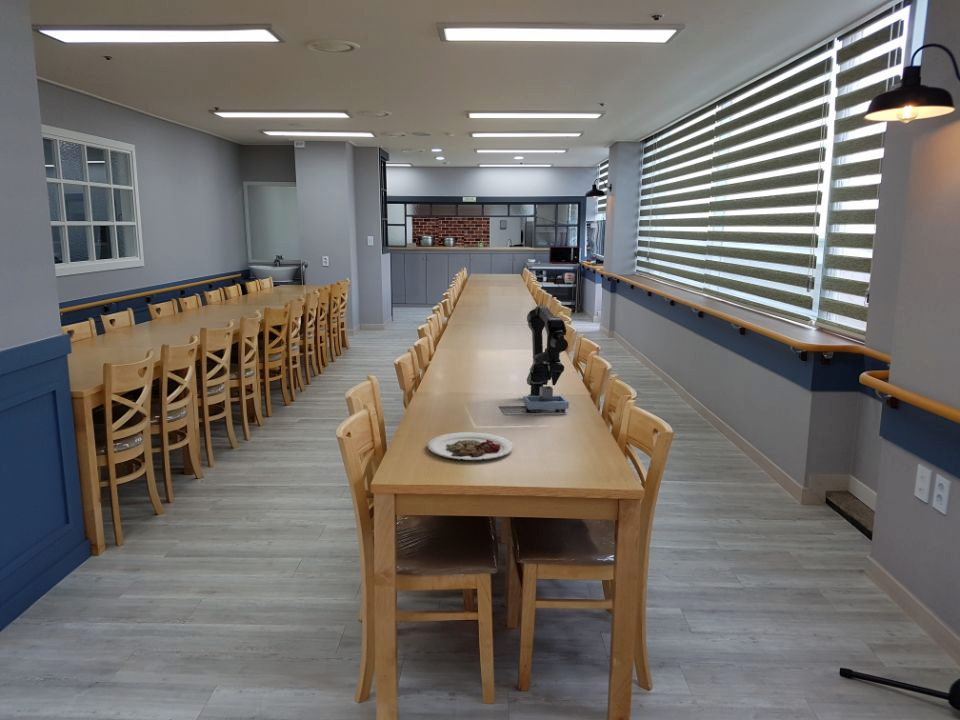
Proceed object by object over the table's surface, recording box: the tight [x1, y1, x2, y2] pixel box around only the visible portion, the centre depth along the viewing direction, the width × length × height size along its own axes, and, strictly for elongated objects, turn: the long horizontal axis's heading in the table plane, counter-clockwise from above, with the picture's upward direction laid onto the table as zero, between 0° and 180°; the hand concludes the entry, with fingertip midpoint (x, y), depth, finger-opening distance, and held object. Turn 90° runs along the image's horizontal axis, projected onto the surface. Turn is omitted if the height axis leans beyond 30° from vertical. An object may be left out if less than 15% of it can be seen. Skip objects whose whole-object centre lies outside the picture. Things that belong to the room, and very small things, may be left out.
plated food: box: [427, 431, 514, 461], centre depth 242 cm, size 30×30×3 cm
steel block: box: [539, 385, 554, 402], centre depth 292 cm, size 4×4×7 cm
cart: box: [522, 395, 570, 413], centre depth 293 cm, size 11×17×5 cm, turn 98°
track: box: [498, 404, 569, 416], centre depth 292 cm, size 13×27×1 cm, turn 98°
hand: (551, 382), depth 297 cm, fingers open, 9 cm apart
